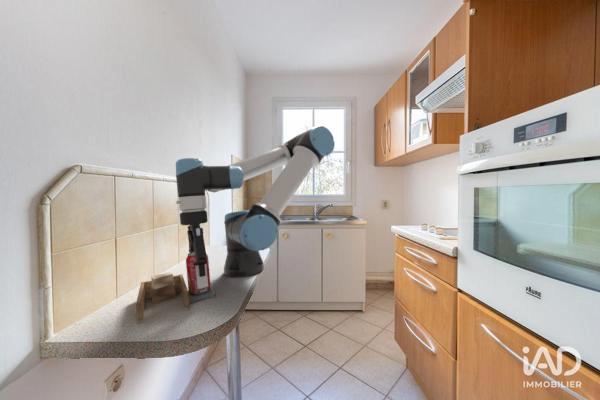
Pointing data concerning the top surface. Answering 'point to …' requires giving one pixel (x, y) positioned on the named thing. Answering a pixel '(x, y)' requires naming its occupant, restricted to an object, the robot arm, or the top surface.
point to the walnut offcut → (163, 293)
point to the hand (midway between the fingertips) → (199, 281)
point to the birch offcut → (162, 280)
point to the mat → (200, 296)
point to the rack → (146, 293)
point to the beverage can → (192, 275)
